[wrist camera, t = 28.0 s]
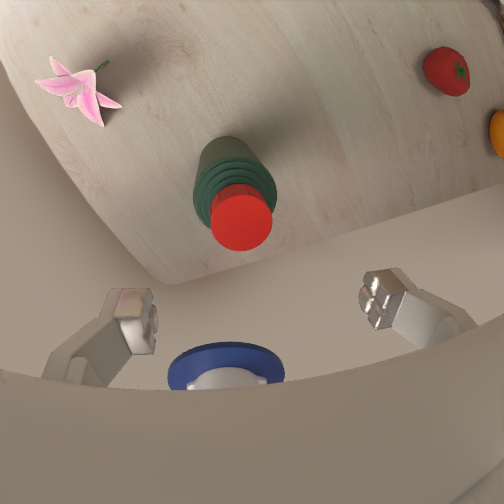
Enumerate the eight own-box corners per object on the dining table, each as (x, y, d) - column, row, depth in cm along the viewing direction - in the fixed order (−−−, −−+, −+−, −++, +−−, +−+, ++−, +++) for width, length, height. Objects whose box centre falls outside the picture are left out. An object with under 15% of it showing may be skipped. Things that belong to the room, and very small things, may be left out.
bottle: (252, 185, 35) (287, 260, 20) (201, 188, 34) (194, 266, 19) (252, 136, 32) (294, 169, 16) (198, 137, 31) (185, 173, 15)
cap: (209, 184, 18) (209, 196, 16) (266, 182, 18) (274, 193, 16) (211, 235, 20) (212, 252, 18) (264, 233, 20) (271, 249, 18)
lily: (54, 71, 23) (11, 108, 18) (105, 11, 17) (55, 33, 12) (106, 120, 31) (74, 164, 26) (164, 72, 26) (133, 109, 21)
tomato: (410, 72, 28) (443, 72, 22) (425, 38, 25) (456, 35, 19) (441, 102, 31) (472, 109, 25) (454, 69, 28) (484, 72, 21)
